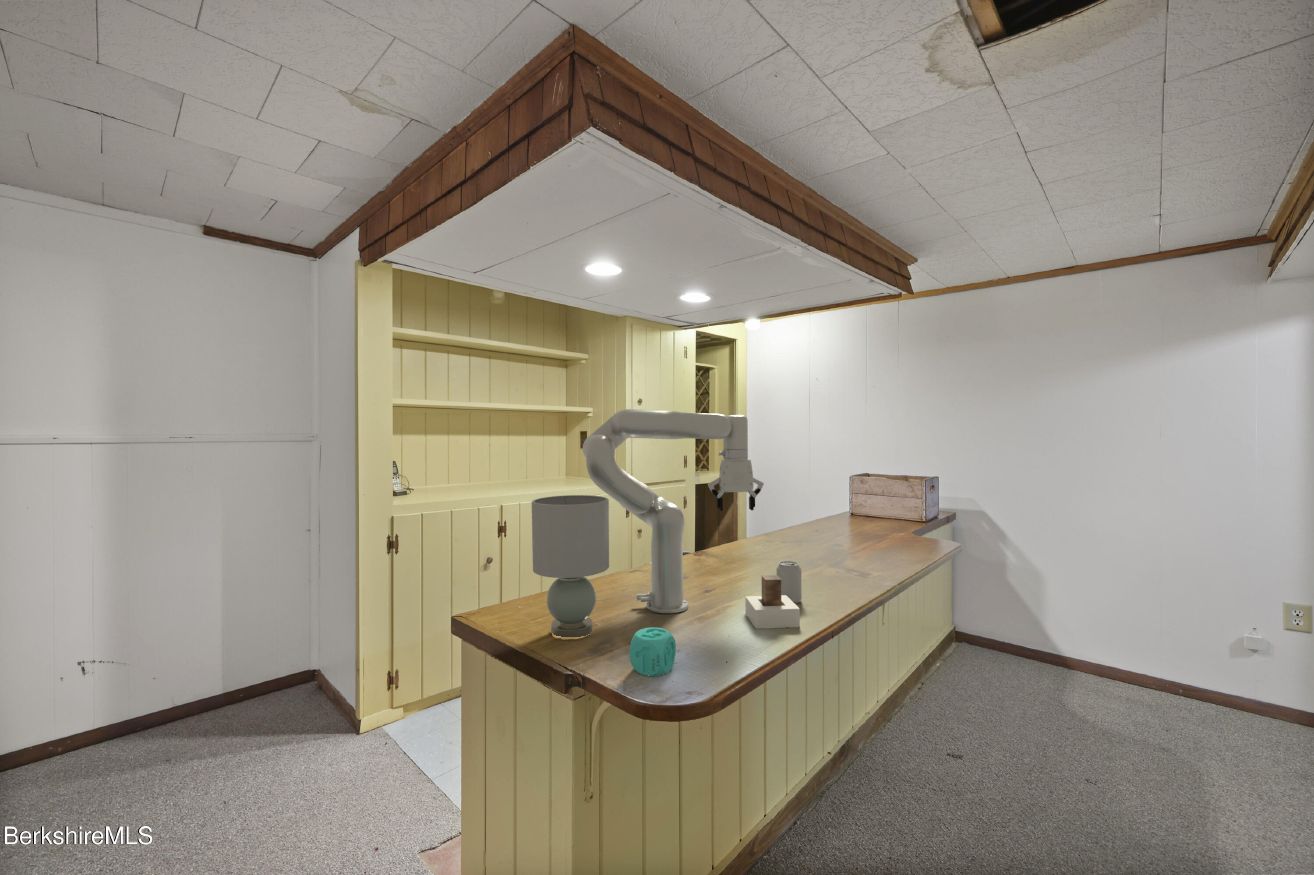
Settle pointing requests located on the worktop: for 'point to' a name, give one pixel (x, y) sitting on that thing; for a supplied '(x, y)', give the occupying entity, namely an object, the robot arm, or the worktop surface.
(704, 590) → the worktop surface
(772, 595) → the peg
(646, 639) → the decorative dice
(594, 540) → the lamp
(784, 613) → the socket block
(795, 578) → the can
